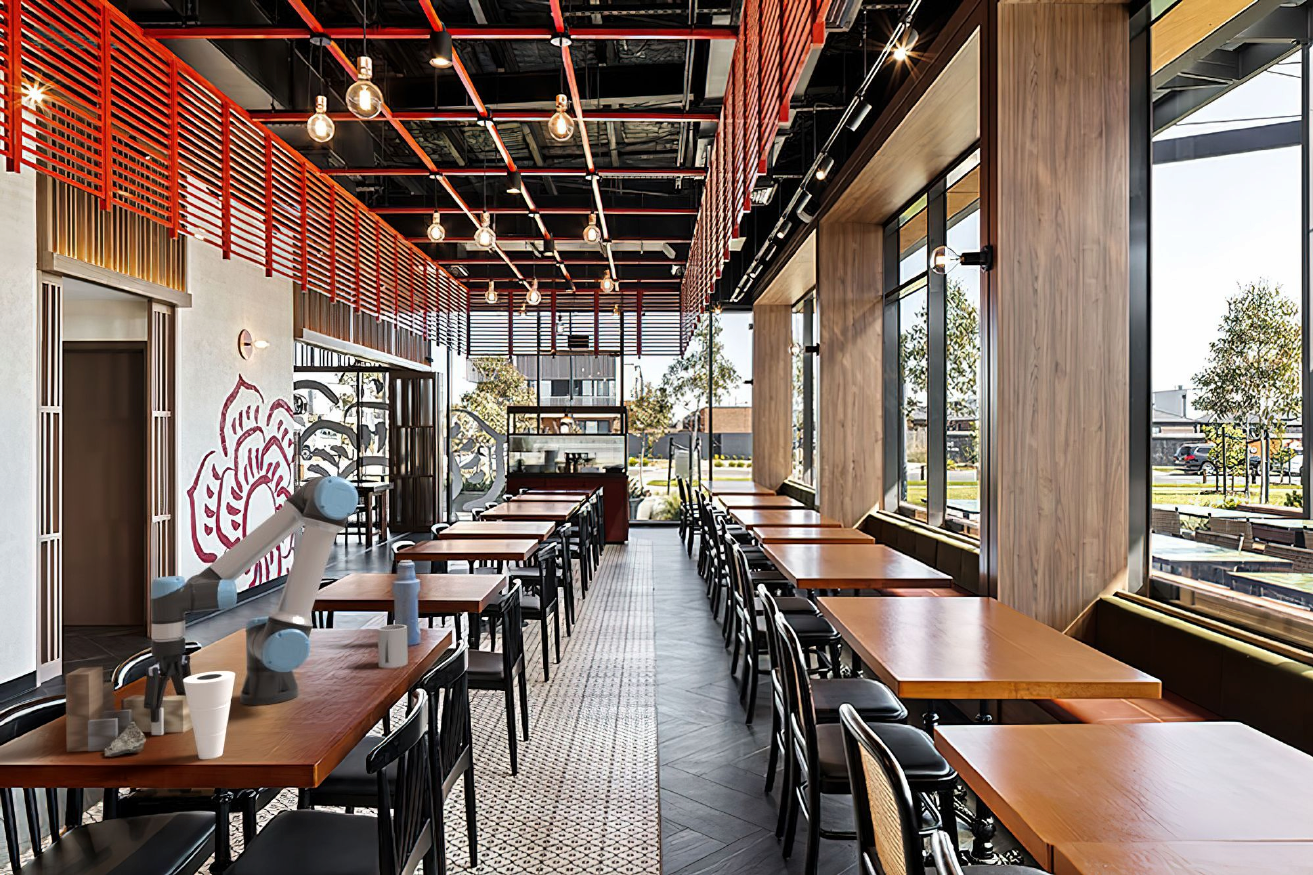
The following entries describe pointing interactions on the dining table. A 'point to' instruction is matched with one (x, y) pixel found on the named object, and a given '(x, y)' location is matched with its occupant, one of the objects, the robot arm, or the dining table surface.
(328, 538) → the robot arm
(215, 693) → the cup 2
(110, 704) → the post
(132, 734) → the rock sample
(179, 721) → the rail
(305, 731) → the dining table surface
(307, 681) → the dining table surface
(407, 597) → the bottle
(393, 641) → the cup
